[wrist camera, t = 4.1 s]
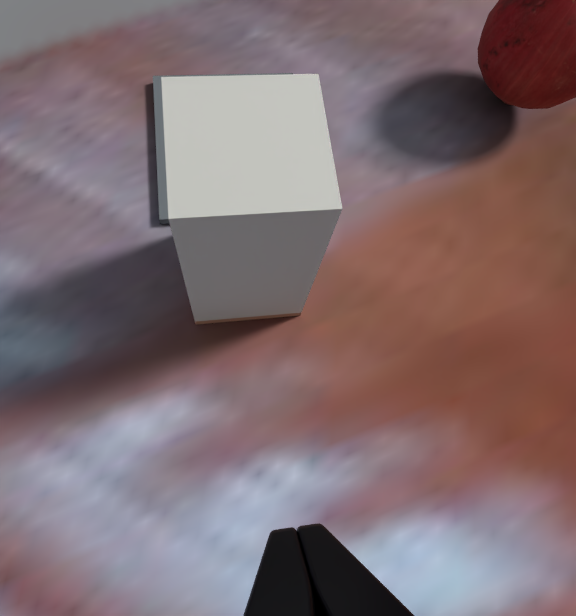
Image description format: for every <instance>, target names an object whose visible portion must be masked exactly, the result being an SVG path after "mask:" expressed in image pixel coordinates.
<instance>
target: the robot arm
mask: <svg viewBox="0 0 576 616" xmlns="http://www.w3.org/2000/svg"><path fill="white" fill-rule="evenodd" d="M244 616H414V615H413V614H412V613H411V612H410V611H409V610H408V609H407V608H406V607H405V606H404V605H403V604H402V603H401V602H400V601H399V600H398V599H397V598H396V597H395V596H394V595H393V594H392V593H391V592H390V591H389V590H388V589H387V588H386V587H385V586H384V585H383V584H382V583H381V582H380V581H379V580H378V579H377V578H376V577H375V576H374V575H373V574H372V573H371V572H370V571H369V570H368V569H367V568H366V567H365V566H364V565H363V564H362V563H361V562H360V561H359V560H358V559H357V558H356V557H355V556H353V555H352V554H351V553H350V552H349V551H348V550H347V549H346V548H345V547H344V546H343V545H342V544H341V543H340V542H339V541H338V540H337V539H336V538H335V537H334V536H333V535H332V534H331V533H330V532H329V531H328V530H327V529H326V528H325V527H324V526H323V525H322V524H311V525H304V526H299V527H298V528H297V531H296V530H295V528H292V527H291V528H284V529H278V530H273V531H272V532H271V533H270V535H269V538H268V541H267V544H266V547H265V550H264V553H263V556H262V559H261V563H260V566H259V569H258V572H257V575H256V578H255V581H254V584H253V588H252V591H251V594H250V597H249V600H248V603H247V606H246V609H245V612H244Z"/></svg>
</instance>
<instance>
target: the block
mask: <svg viewBox="0 0 576 616" xmlns="http://www.w3.org/2000/svg"><path fill="white" fill-rule="evenodd" d="M161 82H162V102H163V122H164V141H165V161H166V180H167V200H168V219H169V223H170V227H171V231H172V235H173V238H174V242H175V246H176V250H177V254H178V258H179V262H180V266H181V270H182V274H183V278H184V281H185V285H186V289H187V293H188V297H189V301H190V305H191V309H192V313H193V317H194V321H195V324H207V323H219V322H230V321H242V320H254V319H265V318H277V317H289V316H300V315H301V312H302V310H303V307H304V305H305V302H306V300H307V297H308V294H309V292H310V289H311V287H312V284H313V282H314V279H315V277H316V274H317V272H318V269H319V267H320V264H321V261H322V259H323V256H324V254H325V251H326V249H327V246H328V244H329V241H330V239H331V236H332V234H333V231H334V228H335V226H336V223H337V221H338V218H339V216H340V213H341V211H342V205H341V199H340V194H339V188H338V182H337V177H336V171H335V165H334V160H333V154H332V148H331V143H330V137H329V132H328V126H327V120H326V115H325V109H324V103H323V98H322V92H321V86H320V81H319V75H318V74H287V75H236V76H185V77H161Z"/></svg>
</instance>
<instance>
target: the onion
mask: <svg viewBox="0 0 576 616" xmlns="http://www.w3.org/2000/svg"><path fill="white" fill-rule="evenodd" d="M478 64H479V67H480V70H481V73H482V76H483V78H484V81H485V82H486V84H487V86H488V87H489V88H490V90H491V91H492V92H493V93H494V94H495V95H496V96H497V97H498V98H500V99H501V100H502V101H503V102H504V103H505V104H508V105H514V106H517V107H521V108H527V109H541V108H551V107H553V106H556V105H558V104H561V103H563V102H566V101H568V100H570V99H573V98H575V97H576V0H499V1H498V3H497V4H496V5H495V7H494V8H493V9H492V10H491V12H490V13H489V15H488V18H487V20H486V23H485V25H484V28H483V31H482V34H481V38H480V42H479V46H478Z"/></svg>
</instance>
